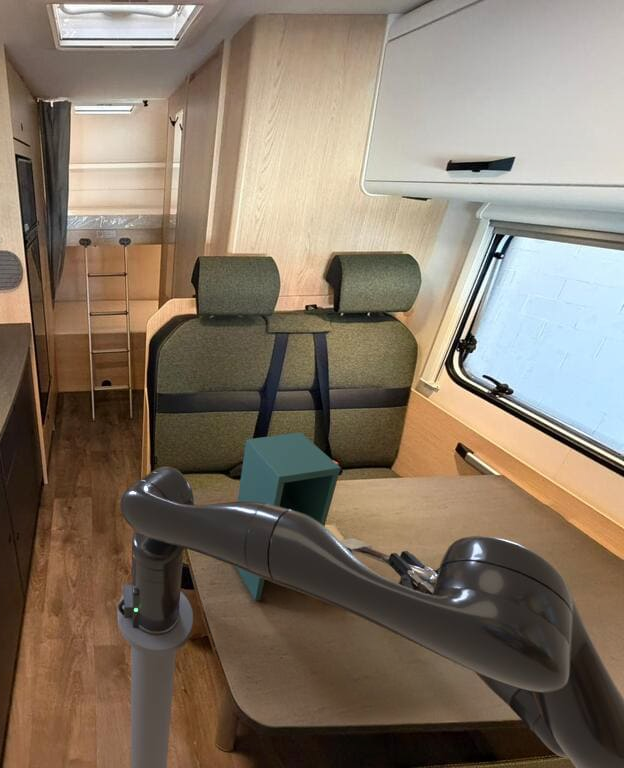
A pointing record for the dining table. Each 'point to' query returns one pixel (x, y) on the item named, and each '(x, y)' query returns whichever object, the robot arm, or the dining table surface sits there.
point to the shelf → (286, 481)
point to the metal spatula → (383, 557)
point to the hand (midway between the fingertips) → (397, 555)
